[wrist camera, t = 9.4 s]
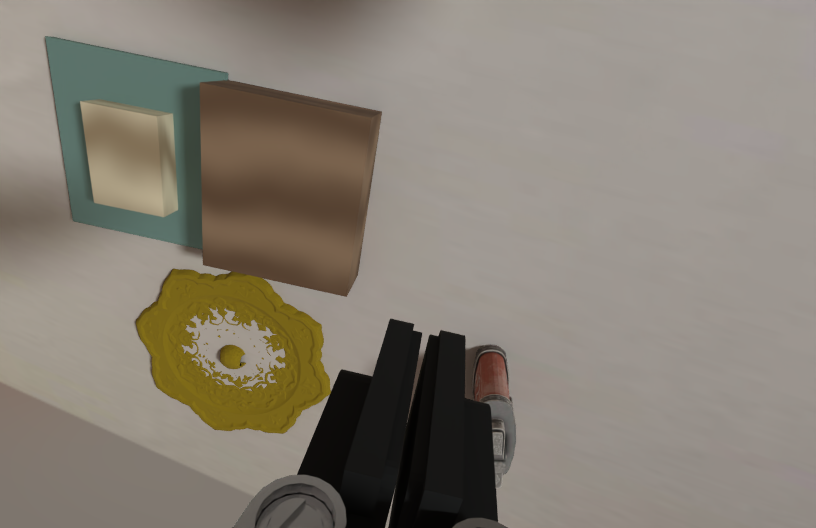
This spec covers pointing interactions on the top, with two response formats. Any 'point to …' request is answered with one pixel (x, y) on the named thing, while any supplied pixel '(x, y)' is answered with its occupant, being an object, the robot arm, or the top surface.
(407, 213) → the top surface
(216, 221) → the brown flat block
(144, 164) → the tile
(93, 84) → the mat
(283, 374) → the decorative medallion
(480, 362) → the lighter
